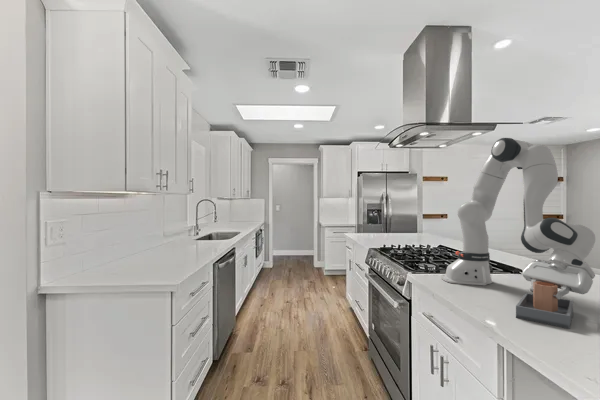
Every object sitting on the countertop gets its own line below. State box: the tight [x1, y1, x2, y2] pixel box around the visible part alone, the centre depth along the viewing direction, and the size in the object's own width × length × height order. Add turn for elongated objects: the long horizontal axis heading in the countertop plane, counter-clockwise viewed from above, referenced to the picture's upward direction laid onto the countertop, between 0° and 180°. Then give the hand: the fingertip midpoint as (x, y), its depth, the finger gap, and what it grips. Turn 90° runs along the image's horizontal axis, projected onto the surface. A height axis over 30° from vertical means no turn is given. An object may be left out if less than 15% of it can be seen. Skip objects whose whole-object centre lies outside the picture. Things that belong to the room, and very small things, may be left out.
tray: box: [515, 292, 574, 330], centre depth 112 cm, size 20×14×4 cm
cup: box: [532, 281, 559, 312], centre depth 112 cm, size 6×6×8 cm
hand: (543, 294), depth 112 cm, fingers closed on cup, 6 cm apart
